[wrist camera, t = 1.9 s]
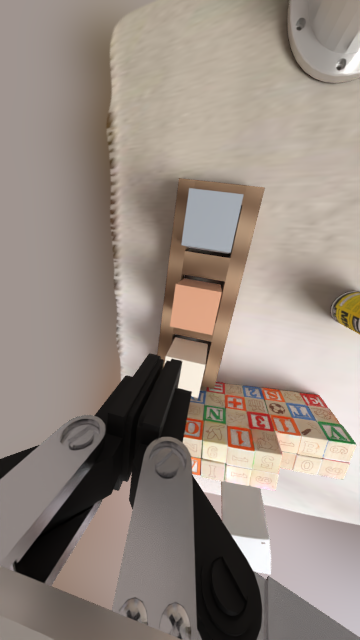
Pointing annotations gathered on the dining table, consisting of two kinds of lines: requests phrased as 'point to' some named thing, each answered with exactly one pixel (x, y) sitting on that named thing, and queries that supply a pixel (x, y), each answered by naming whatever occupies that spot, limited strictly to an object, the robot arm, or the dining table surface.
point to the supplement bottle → (347, 310)
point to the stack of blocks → (263, 435)
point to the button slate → (211, 220)
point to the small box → (247, 523)
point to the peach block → (195, 305)
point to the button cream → (189, 363)
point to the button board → (209, 270)
